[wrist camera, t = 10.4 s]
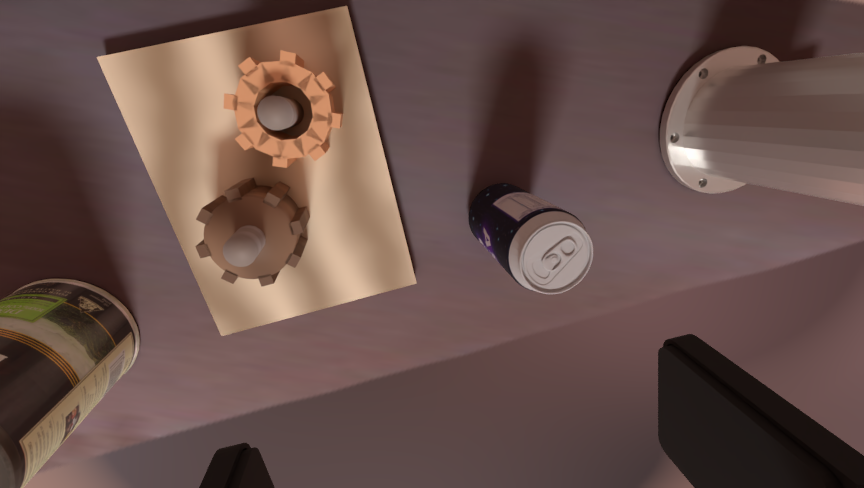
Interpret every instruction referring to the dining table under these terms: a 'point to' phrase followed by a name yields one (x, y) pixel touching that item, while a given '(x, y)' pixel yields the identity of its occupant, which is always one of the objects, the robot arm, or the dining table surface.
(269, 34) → the gear board
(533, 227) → the beverage can
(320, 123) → the loose gear
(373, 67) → the dining table surface
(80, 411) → the coffee can
